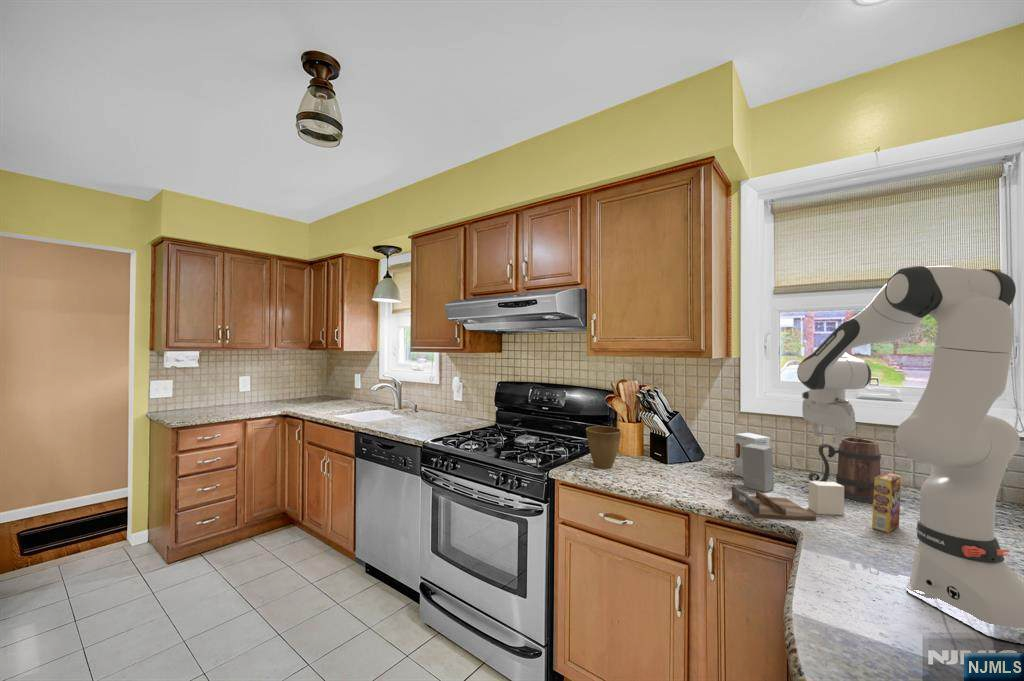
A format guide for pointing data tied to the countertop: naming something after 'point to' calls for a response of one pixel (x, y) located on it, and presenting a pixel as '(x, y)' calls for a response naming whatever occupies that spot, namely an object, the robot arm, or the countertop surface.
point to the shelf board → (770, 506)
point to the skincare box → (758, 467)
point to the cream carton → (826, 497)
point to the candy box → (886, 502)
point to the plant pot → (603, 445)
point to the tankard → (854, 468)
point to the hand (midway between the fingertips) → (827, 439)
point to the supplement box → (746, 439)
